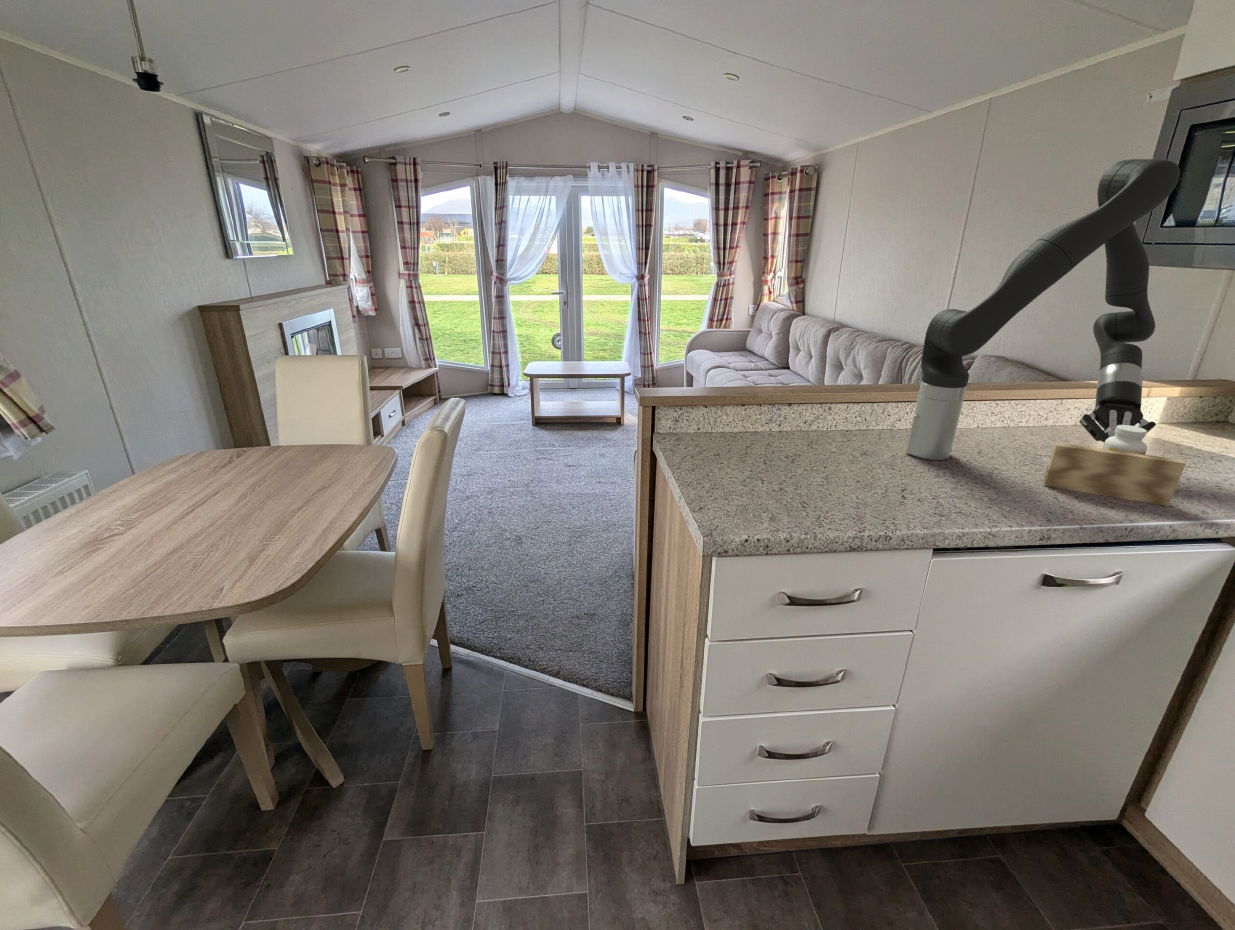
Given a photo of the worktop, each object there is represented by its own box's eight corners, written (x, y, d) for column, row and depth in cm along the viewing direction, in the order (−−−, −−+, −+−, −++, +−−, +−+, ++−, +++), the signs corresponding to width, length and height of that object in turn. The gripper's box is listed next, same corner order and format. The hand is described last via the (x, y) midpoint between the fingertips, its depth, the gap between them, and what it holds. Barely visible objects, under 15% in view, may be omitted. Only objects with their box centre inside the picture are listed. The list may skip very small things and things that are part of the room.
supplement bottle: (1138, 495, 115) (1161, 435, 110) (1099, 491, 117) (1121, 432, 112) (1120, 482, 121) (1141, 424, 116) (1084, 478, 123) (1104, 422, 118)
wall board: (1043, 485, 119) (1056, 445, 116) (1039, 474, 125) (1052, 436, 121) (1168, 506, 111) (1186, 463, 107) (1158, 493, 116) (1174, 452, 112)
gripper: (1087, 376, 125) (1081, 446, 120) (1166, 383, 119) (1163, 457, 114) (1075, 393, 132) (1069, 461, 126) (1149, 401, 126) (1146, 471, 121)
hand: (1113, 459), depth 120 cm, fingers closed
